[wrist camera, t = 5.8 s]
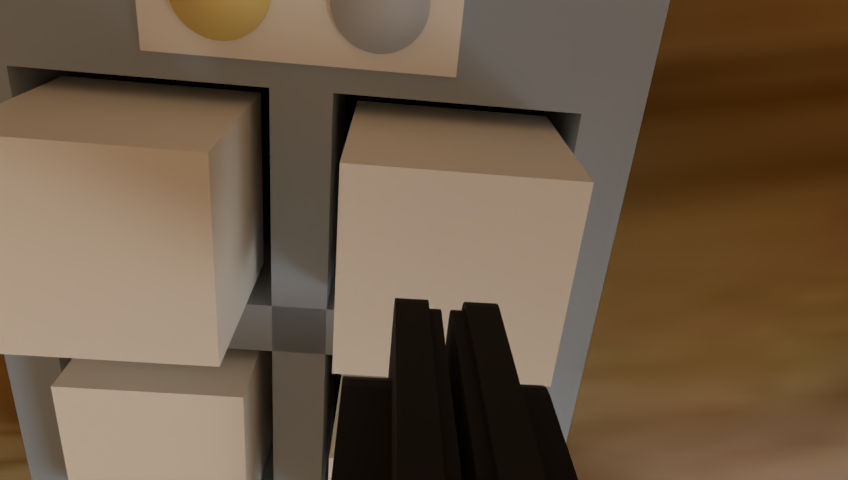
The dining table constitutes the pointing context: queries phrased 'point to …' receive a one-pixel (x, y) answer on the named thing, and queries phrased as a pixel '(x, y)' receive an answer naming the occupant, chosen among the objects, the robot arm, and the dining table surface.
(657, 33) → the board
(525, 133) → the button
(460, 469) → the robot arm
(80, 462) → the button
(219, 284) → the button
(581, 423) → the dining table surface
